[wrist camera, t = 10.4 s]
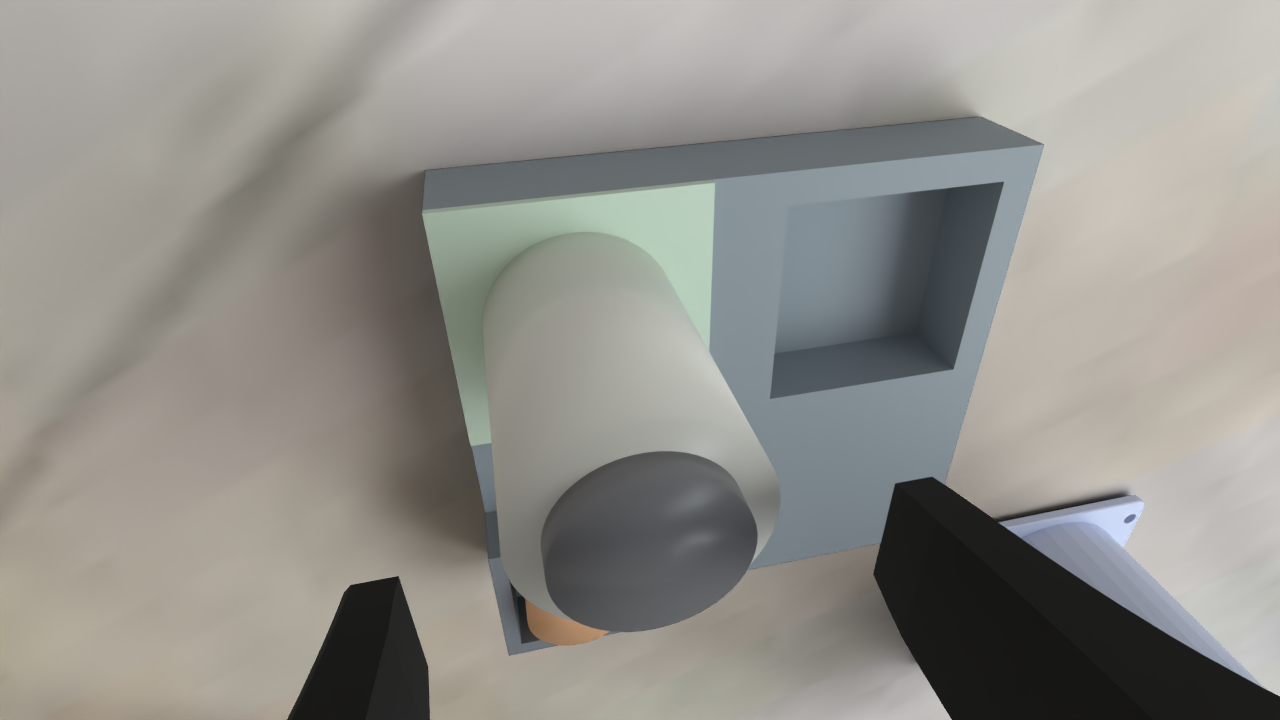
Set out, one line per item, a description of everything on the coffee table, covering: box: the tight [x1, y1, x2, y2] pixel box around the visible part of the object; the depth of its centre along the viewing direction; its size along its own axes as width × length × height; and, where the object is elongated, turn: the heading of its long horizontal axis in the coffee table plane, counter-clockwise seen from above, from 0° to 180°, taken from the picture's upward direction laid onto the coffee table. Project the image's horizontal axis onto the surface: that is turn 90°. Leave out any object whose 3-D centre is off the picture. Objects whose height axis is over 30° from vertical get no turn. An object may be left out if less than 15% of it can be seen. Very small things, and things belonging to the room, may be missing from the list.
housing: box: [422, 117, 1044, 656], centre depth 19 cm, size 13×14×4 cm
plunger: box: [525, 599, 610, 645], centre depth 19 cm, size 3×3×2 cm
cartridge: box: [482, 232, 780, 632], centre depth 13 cm, size 4×4×7 cm
